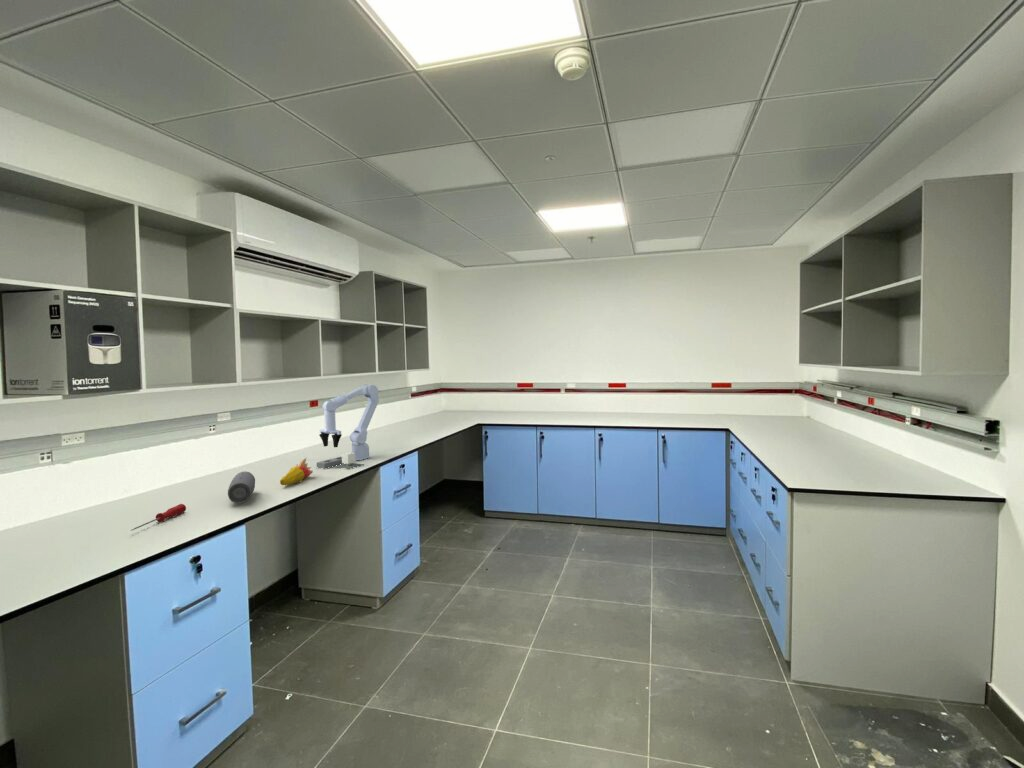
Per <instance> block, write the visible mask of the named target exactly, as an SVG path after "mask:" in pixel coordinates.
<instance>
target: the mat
mask: <svg viewBox="0 0 1024 768" xmlns="http://www.w3.org/2000/svg"><path fill="white" fill-rule="evenodd" d="M361 465H363V466H364V464H363V463H355V462H353V463H351V465H349V466H346V464H341V465H337V466H333V467H337V468H336V469H341V468H347V469H346V470H351V469H350V468H352V469H354V468H353V467H356V468H358V467H357V466H359V467H362V466H361ZM333 467H332V468H333Z"/></svg>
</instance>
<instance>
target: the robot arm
mask: <svg viewBox="0 0 1024 768" xmlns="http://www.w3.org/2000/svg"><path fill="white" fill-rule="evenodd" d="M379 392H380V390H379V388H378V386H377V385H375V384H368V383H367V384H363V385H361V386H359V387H356V388H355V389H353V390H352V391H350V392H348V393H347V394H344V393H343V394H342V393H341V394H337V396H336V397H333V398H330V400H326V401H325V402H324V403H322V406H321V407H322V410H323V412H324V413H323V414H324V417H323V418H324V429H322V428H321V429H319V435H318V436H319V437H320V439H321V442H322V444H323V447H328V446H329V436H330V435H331V438H332V442H333V448H338V446H339V442H340V440H341V438H342V436H343V434H342V430H338V429H337V425H336V424H337V423H336V410H337V409H338V408H340V407H343V406H344V405H346V404H348V402H349V400H352V399H354V398H356V397H358V396H360V395H364V397H365V398H366V400H367V404H366V406H365V409H364V411H363V414H362V415H361V419H360V420H359V422H358V425H357V427H356V428H354V429H353V432H351V434H350V436H349V441H351V453H355V461H357V460H360V461H364V460H368V459H371V457H370V446H369V444H368V443H367V436H368V427H369V425H370V423H371V422H372V421H371V420H372V418H373V415H374V413H375V411H376V408H377V406H378V403H379ZM367 458H368V459H367ZM363 459H364V460H363Z"/></svg>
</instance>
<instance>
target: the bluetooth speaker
mask: <svg viewBox="0 0 1024 768" xmlns="http://www.w3.org/2000/svg"><path fill="white" fill-rule="evenodd" d="M255 485H256V478H255V475H254V474H252V473H251V472H249V471H246V470H245V471H241V472H238V473H237V474H236V475H235V476H234V477H233V478H232V479H231V481H230V484H229V485H228V489H227V496H228V500H230V502H233V504H234V503H235V504H242V503H245V502H247V501H248V500H249V499H250V498H251V496H252V494H253V493H254V491H255V487H256V486H255Z"/></svg>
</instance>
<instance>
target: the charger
mask: <svg viewBox="0 0 1024 768" xmlns="http://www.w3.org/2000/svg"><path fill="white" fill-rule="evenodd" d="M341 456H342V463H345V464H346V466H349V465H351V463H355V462H356V460H355V453H352V452H350V451H349V452H345V453H341Z"/></svg>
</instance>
